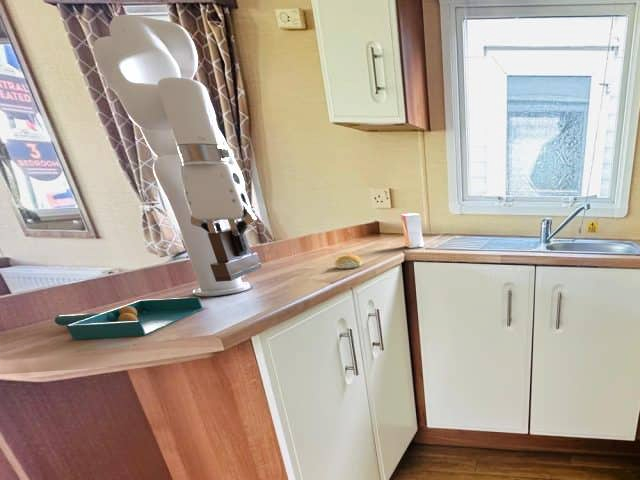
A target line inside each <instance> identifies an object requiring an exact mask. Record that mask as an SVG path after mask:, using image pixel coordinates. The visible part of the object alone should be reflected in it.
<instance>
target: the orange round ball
mask: <svg viewBox="0 0 640 480" xmlns="http://www.w3.org/2000/svg"><path fill="white" fill-rule="evenodd" d="M123 306H124V307H122V306H121V307H122V308H121V309H120V311H119V314H120V315H121V314H124V313H131V314H133V315H135V316H136V317H137V315H138V313H137V310H136V309H135V308H133V307H131V306H125V305H123Z"/></svg>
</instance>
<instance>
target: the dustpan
mask: <svg viewBox="0 0 640 480" xmlns="http://www.w3.org/2000/svg"><path fill="white" fill-rule="evenodd" d="M124 306H131V307H133V308H135V309H136V310H137V313H138V315H137V319H138V321H130V322H119V320H118V319H119V316H120V314H119V311H120V309H121V308H122V307H124ZM201 310H203V305H202V303H201V300H200V296H192V297H190V296H189V297H175V298H172V297H171V298H158V299H157V298H156V299H140V300H137V301H134V302H131V303H127V304H125V305H122V306H119V307H116V308H113V309H111V310H108V311H104V312H98V313H79V314H78V313H77V314H62V315H61V314H60V315H57V316H55V318H53V320H54V323H55V324H56V325H58V326H61V327H62V326H63V327H64V326H65V327H66V329H67V331H68V333H69V335H70V337H71V338H72V340H74V339H75V340H76V341H77V340H94V339H95V340H96V339H97V340H98V339H111V338H113V339H114V338H127V337H128V338H129V337H143V336H147V335H149V334H151V333H153V332H155V331H158V330H160V329H162V328H164V327H166V326H169V325H171V324H173V323H175V322H177V321H179V320H182V319H183V318H186V317H188V316H191V315H193V314H195V313H197V312H200V311H201Z"/></svg>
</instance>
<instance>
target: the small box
mask: <svg viewBox="0 0 640 480" xmlns="http://www.w3.org/2000/svg"><path fill="white" fill-rule="evenodd" d="M400 218H401V225H402V232H403V233H402V234H403V239H404V247H407V248H409V249H415V248H423V247H425V244H424V236H423V229H422V221H421V214H420V213H404V214H400Z"/></svg>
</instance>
